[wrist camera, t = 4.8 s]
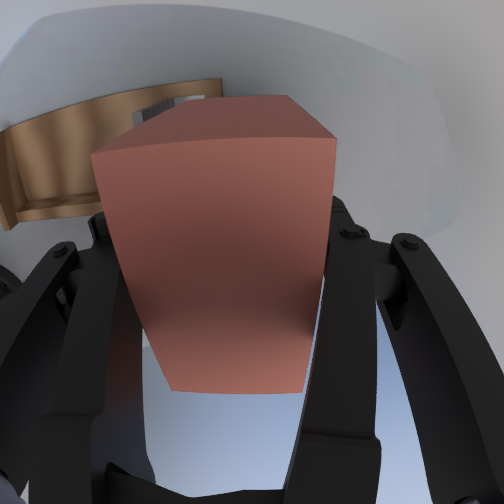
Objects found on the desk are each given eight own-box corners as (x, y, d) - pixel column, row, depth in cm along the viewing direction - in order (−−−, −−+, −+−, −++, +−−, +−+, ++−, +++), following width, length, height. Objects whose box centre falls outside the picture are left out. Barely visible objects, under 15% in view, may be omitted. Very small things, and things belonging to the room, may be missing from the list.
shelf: (28, 209, 34) (4, 230, 29) (6, 129, 27) (-23, 143, 22) (229, 191, 33) (222, 217, 28) (221, 78, 26) (211, 80, 21)
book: (204, 247, 19) (171, 390, 10) (187, 100, 14) (90, 154, 5) (285, 245, 19) (302, 392, 10) (287, 95, 14) (336, 138, 5)
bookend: (176, 171, 31) (148, 210, 23) (167, 98, 26) (131, 113, 19) (211, 169, 30) (193, 207, 23) (204, 94, 26) (181, 105, 18)
